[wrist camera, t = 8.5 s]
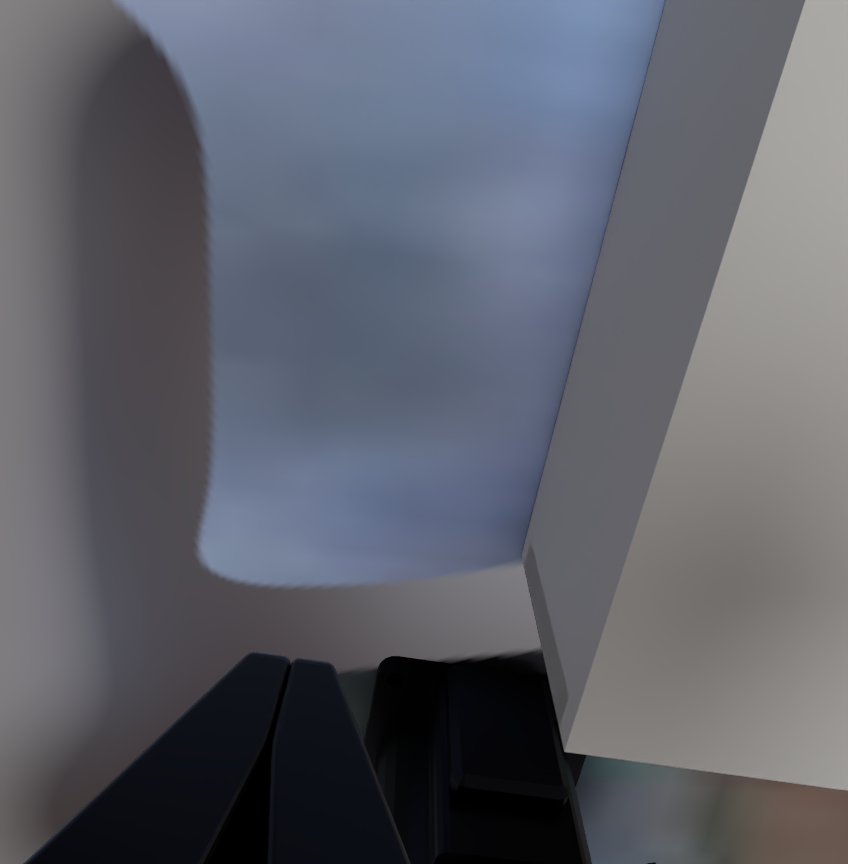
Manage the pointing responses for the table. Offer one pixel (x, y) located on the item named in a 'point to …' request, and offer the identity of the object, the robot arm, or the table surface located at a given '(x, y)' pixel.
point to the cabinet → (711, 416)
